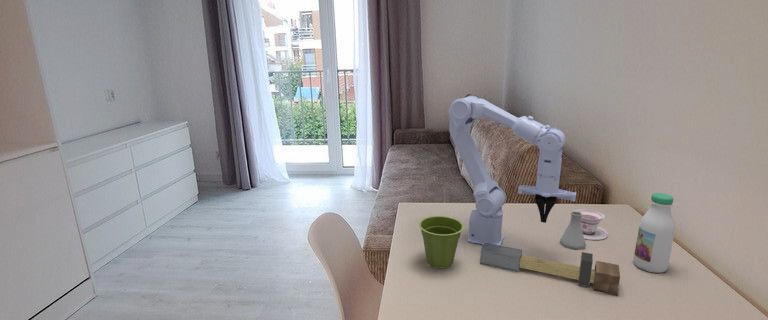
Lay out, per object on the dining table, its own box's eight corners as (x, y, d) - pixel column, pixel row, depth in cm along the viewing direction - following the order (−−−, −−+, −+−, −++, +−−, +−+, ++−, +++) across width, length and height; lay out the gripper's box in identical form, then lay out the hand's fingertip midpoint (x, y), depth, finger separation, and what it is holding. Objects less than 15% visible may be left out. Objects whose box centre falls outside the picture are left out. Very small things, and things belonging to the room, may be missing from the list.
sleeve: (479, 264, 111) (480, 249, 110) (483, 256, 115) (484, 242, 114) (518, 272, 107) (519, 257, 106) (520, 264, 111) (522, 249, 109)
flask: (589, 251, 118) (593, 218, 115) (562, 249, 119) (566, 217, 116) (582, 239, 125) (586, 209, 122) (556, 237, 126) (560, 207, 123)
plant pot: (413, 269, 109) (413, 230, 106) (424, 249, 119) (425, 213, 116) (457, 277, 105) (459, 237, 102) (465, 256, 115) (467, 219, 112)
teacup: (610, 230, 131) (613, 212, 130) (605, 244, 122) (608, 225, 120) (569, 221, 138) (572, 204, 136) (562, 234, 128) (564, 216, 126)
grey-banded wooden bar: (514, 270, 107) (516, 247, 105) (517, 262, 111) (519, 240, 109) (602, 289, 98) (606, 264, 97) (602, 280, 102) (606, 256, 100)
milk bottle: (662, 261, 112) (675, 192, 106) (671, 276, 105) (685, 202, 99) (630, 257, 114) (641, 189, 109) (636, 271, 107) (649, 199, 102)
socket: (593, 290, 99) (596, 272, 97) (593, 278, 104) (595, 260, 103) (617, 295, 97) (620, 277, 95) (615, 283, 102) (618, 264, 100)
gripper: (518, 174, 110) (514, 221, 113) (577, 182, 104) (571, 231, 107) (521, 168, 116) (518, 212, 120) (578, 174, 110) (572, 221, 113)
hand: (543, 221), depth 114 cm, fingers closed
